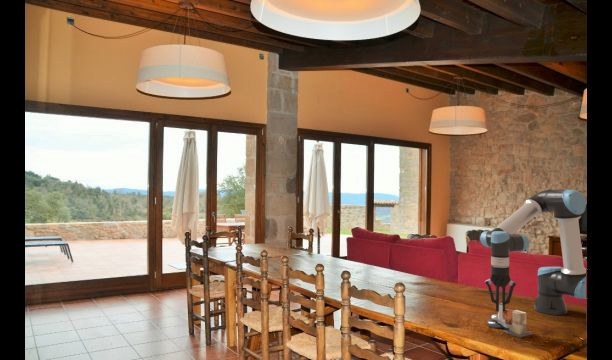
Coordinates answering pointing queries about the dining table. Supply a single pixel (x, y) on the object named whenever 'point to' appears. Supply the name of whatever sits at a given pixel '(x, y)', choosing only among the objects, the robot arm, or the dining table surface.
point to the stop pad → (517, 334)
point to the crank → (505, 322)
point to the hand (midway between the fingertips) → (500, 318)
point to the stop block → (518, 322)
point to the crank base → (494, 324)
